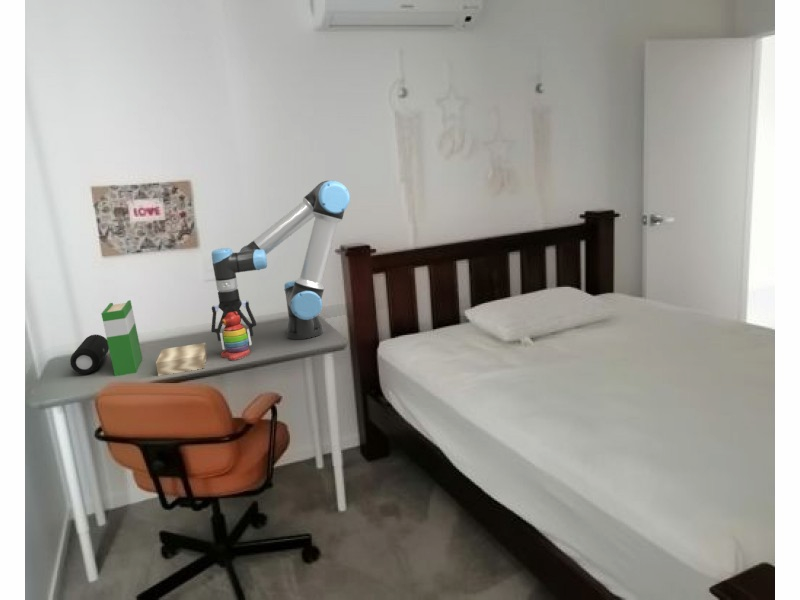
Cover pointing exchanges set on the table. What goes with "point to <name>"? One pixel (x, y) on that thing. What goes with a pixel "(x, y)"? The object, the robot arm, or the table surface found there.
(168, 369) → the wooden block
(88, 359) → the portable speaker
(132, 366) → the hardback book
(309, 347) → the table surface
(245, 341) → the stacking bear
